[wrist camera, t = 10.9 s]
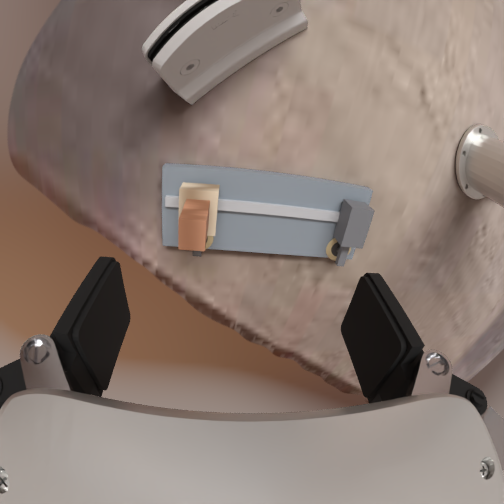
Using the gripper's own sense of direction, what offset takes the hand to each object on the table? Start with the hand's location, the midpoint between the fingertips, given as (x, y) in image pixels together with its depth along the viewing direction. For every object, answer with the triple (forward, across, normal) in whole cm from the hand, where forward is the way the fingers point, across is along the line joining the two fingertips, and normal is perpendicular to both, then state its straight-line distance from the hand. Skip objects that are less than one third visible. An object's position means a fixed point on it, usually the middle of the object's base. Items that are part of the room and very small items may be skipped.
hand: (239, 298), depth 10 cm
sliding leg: (+21, +4, +6) cm, 23 cm away
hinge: (+24, +2, -14) cm, 28 cm away
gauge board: (+23, -4, +6) cm, 24 cm away
